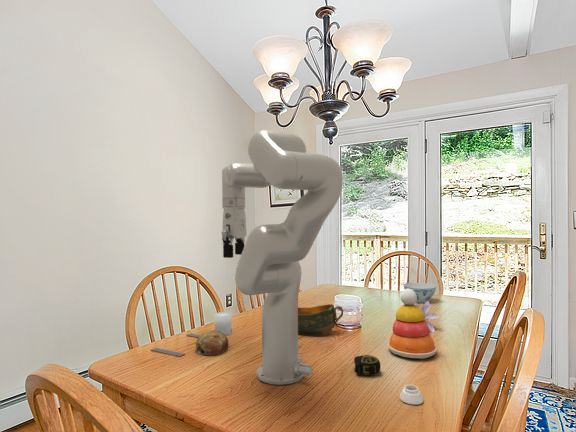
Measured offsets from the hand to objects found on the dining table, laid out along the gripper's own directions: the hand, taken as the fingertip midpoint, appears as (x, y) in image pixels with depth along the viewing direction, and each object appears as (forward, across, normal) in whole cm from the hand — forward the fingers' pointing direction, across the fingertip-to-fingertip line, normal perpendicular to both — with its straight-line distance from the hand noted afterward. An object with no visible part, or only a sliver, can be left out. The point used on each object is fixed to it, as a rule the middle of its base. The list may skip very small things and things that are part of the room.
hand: (234, 255), depth 120 cm
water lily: (+29, +30, -61) cm, 74 cm away
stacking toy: (+29, +4, -56) cm, 63 cm away
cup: (+29, +10, +8) cm, 32 cm away
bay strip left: (+29, -12, +17) cm, 36 cm away
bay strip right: (+29, +4, +14) cm, 33 cm away
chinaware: (+29, +76, -66) cm, 105 cm away
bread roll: (+29, -6, +5) cm, 31 cm away
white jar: (+29, -26, -53) cm, 66 cm away
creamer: (+29, +17, -23) cm, 41 cm away
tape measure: (+29, -13, -42) cm, 53 cm away
